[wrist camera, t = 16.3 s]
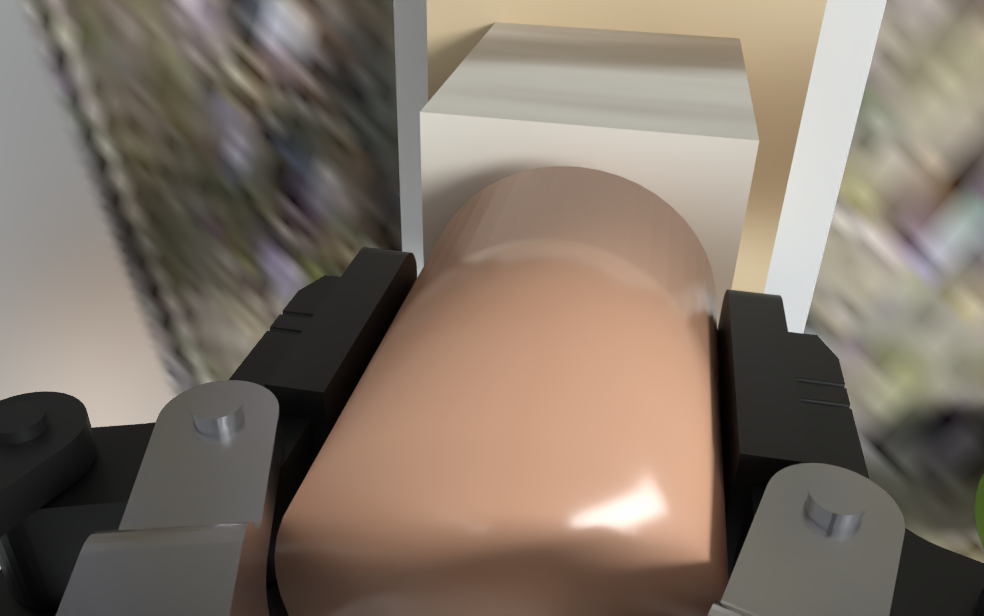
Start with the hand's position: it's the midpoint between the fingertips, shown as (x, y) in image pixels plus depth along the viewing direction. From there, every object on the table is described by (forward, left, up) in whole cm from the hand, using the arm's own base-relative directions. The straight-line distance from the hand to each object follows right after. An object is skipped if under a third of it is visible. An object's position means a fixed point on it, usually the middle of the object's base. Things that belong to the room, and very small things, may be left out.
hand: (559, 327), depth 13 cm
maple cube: (0, 0, -8) cm, 8 cm away
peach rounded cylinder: (0, 0, -1) cm, 1 cm away
